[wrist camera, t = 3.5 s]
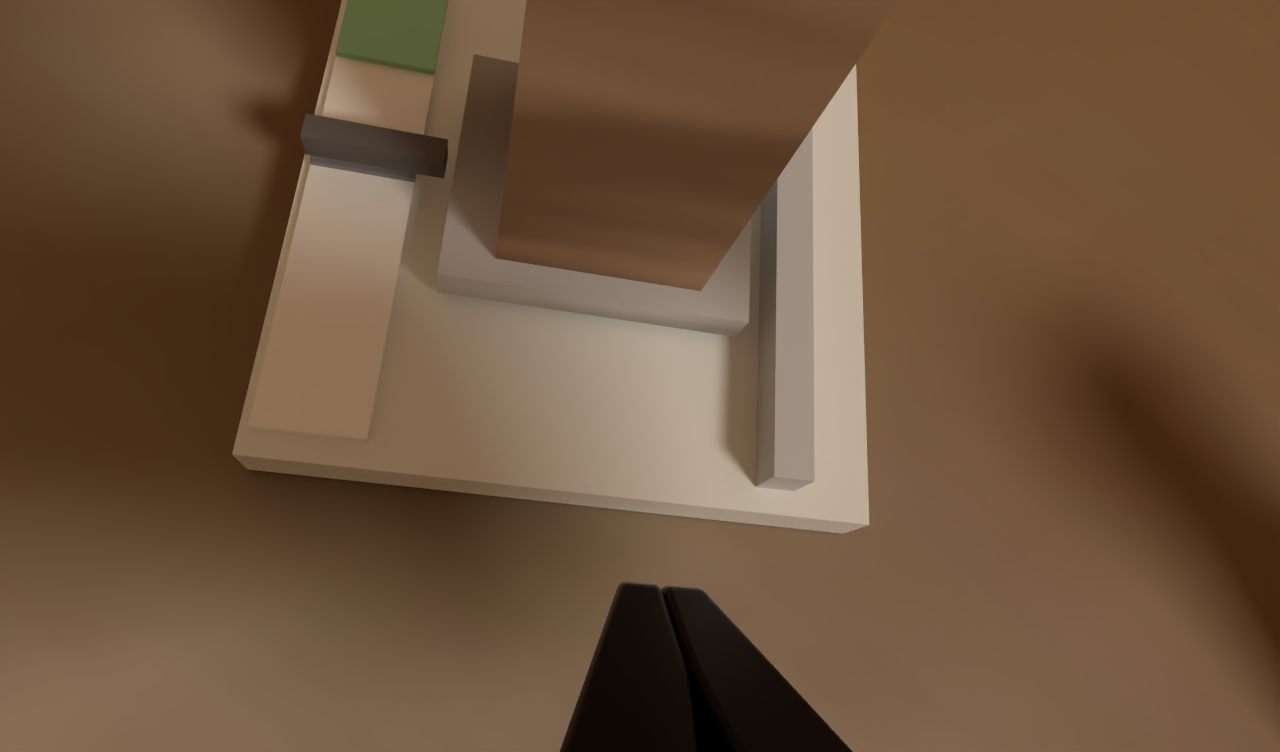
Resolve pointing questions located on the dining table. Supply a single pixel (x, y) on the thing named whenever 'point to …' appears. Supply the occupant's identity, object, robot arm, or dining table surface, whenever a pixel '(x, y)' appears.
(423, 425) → the gauge board
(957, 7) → the dining table surface
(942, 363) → the dining table surface
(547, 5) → the gauge slider
